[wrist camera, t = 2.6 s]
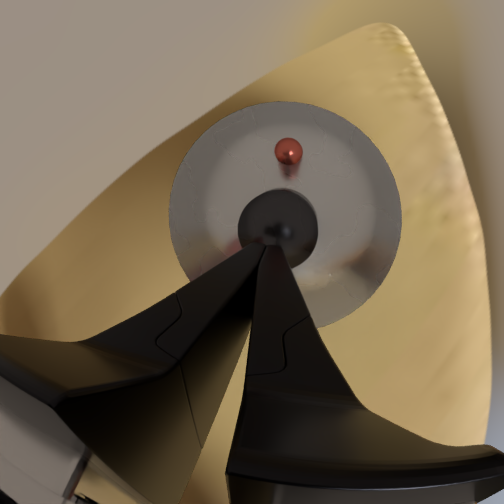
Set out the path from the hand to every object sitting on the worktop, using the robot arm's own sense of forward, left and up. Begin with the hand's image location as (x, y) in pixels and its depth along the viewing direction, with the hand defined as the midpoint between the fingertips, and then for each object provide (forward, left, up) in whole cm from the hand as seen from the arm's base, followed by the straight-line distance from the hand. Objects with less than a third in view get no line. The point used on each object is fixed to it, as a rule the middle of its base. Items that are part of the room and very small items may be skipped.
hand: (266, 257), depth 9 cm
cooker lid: (+2, -1, -4) cm, 5 cm away
